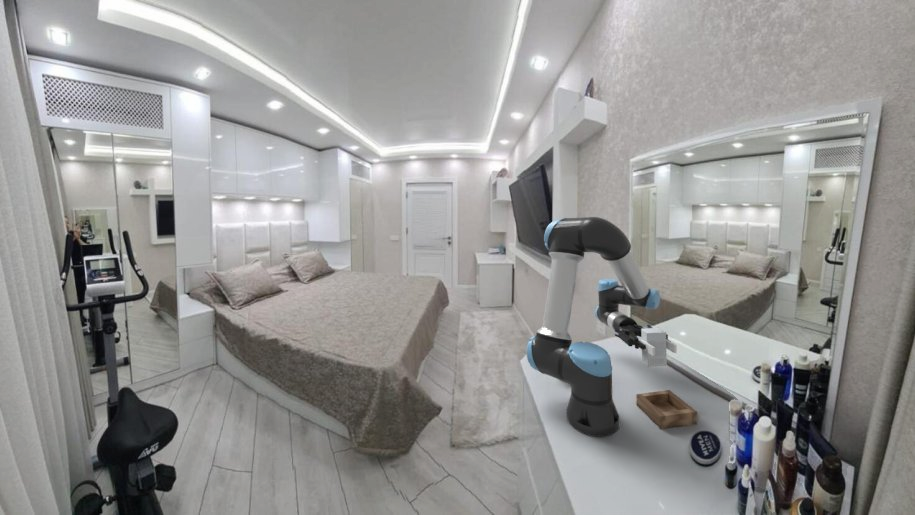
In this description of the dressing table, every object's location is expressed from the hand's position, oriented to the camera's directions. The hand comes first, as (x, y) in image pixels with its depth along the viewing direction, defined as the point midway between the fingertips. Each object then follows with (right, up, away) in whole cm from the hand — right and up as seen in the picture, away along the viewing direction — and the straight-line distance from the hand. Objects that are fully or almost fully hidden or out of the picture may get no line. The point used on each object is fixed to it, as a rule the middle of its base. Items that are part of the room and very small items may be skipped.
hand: (664, 350), depth 98 cm
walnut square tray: (-2, -19, -3) cm, 19 cm away
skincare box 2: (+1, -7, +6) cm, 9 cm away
